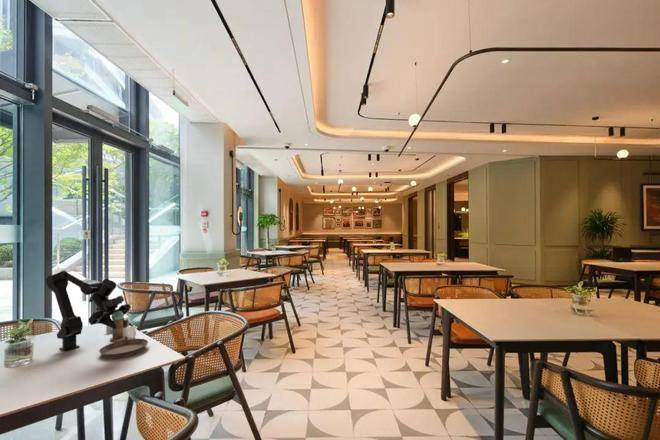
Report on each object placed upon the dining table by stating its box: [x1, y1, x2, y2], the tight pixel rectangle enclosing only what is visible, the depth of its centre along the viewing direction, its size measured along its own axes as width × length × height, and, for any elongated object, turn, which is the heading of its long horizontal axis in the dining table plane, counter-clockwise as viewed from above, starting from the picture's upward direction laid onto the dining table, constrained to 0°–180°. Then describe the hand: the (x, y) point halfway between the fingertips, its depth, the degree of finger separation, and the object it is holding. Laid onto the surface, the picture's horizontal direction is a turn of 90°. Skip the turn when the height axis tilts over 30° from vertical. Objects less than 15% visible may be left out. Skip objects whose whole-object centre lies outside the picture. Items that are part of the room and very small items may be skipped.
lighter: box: [105, 325, 112, 334], centre depth 200 cm, size 7×2×8 cm, turn 130°
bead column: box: [109, 311, 127, 344], centre depth 163 cm, size 6×6×14 cm
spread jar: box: [123, 315, 137, 340], centre depth 188 cm, size 12×11×12 cm
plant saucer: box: [98, 338, 149, 359], centre depth 167 cm, size 21×21×3 cm
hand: (119, 326), depth 163 cm, fingers closed on bead column, 4 cm apart
